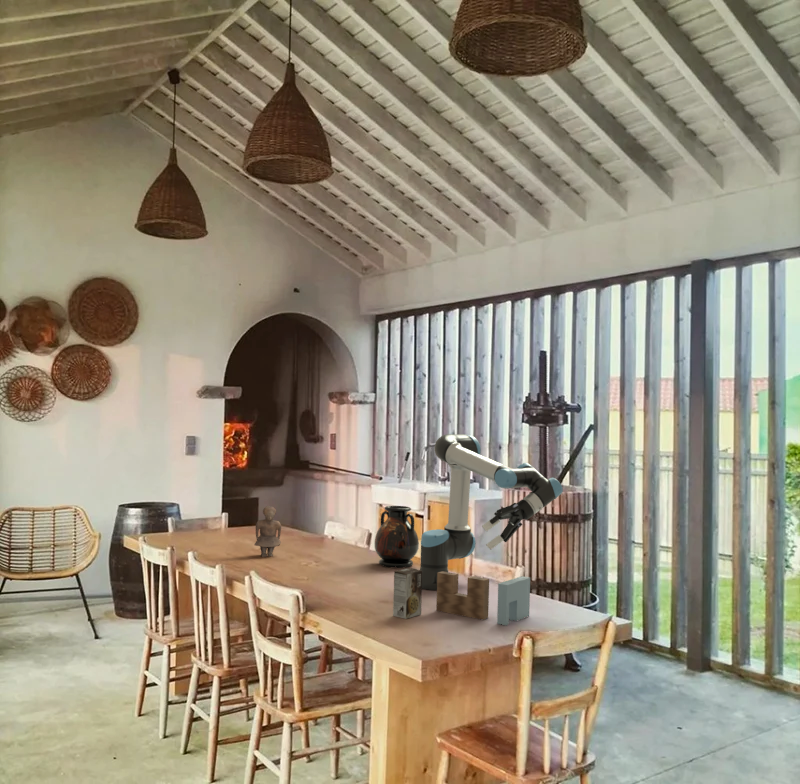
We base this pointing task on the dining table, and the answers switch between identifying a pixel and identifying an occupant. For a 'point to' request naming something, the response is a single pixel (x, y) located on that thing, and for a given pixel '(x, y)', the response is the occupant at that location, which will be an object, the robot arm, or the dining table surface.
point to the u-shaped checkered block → (462, 596)
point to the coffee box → (407, 593)
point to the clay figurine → (268, 532)
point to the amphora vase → (396, 538)
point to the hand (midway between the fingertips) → (486, 538)
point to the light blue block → (513, 600)
